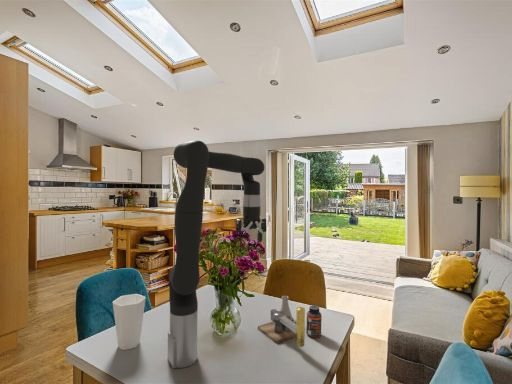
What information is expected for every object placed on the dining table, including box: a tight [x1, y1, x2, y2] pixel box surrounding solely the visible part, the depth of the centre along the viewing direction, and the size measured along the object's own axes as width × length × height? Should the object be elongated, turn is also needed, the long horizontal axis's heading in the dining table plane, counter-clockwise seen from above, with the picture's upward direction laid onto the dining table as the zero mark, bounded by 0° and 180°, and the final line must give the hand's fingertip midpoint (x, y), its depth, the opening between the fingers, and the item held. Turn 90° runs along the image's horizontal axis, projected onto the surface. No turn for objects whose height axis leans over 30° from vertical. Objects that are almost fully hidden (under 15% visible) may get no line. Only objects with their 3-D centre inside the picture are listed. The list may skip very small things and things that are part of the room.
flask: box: [279, 295, 293, 322], centre depth 125 cm, size 7×7×10 cm
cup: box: [112, 293, 146, 351], centre depth 103 cm, size 11×10×17 cm
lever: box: [270, 306, 306, 348], centre depth 107 cm, size 20×5×13 cm, turn 29°
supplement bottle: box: [306, 304, 323, 339], centre depth 112 cm, size 6×6×11 cm
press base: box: [257, 315, 296, 345], centre depth 113 cm, size 13×10×7 cm
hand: (251, 242), depth 118 cm, fingers open, 8 cm apart
